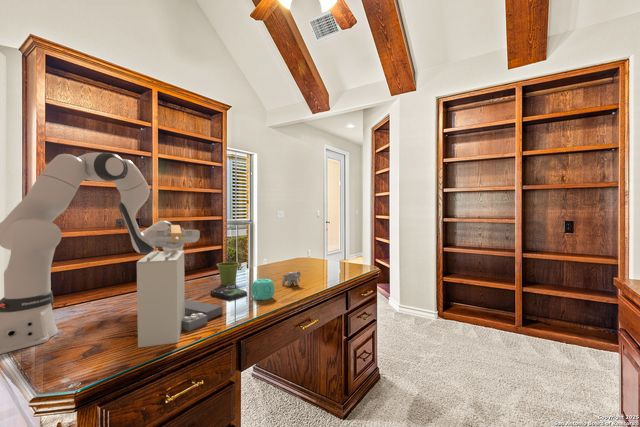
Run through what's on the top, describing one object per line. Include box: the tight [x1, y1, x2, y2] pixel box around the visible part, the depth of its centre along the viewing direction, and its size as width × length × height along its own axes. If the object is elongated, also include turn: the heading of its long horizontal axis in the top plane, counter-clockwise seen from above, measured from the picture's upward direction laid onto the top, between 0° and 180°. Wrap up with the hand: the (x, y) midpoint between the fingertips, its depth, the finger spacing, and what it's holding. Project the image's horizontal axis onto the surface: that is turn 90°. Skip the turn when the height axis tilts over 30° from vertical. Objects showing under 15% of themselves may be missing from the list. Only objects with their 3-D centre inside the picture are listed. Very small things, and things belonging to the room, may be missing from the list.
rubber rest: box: [185, 299, 223, 321], centre depth 124 cm, size 8×20×3 cm, turn 63°
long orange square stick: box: [170, 224, 182, 244], centre depth 119 cm, size 30×3×3 cm, turn 26°
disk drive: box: [210, 286, 248, 301], centre depth 149 cm, size 10×3×15 cm
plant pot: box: [216, 261, 240, 286], centre depth 171 cm, size 12×12×11 cm
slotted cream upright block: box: [136, 250, 186, 349], centre depth 106 cm, size 22×11×27 cm, turn 18°
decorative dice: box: [251, 278, 275, 301], centre depth 145 cm, size 8×8×8 cm
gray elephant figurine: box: [281, 271, 301, 288], centre depth 167 cm, size 9×12×8 cm
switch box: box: [182, 313, 208, 332], centre depth 111 cm, size 8×5×4 cm, turn 153°
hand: (175, 229), depth 129 cm, fingers closed on long orange square stick, 3 cm apart
